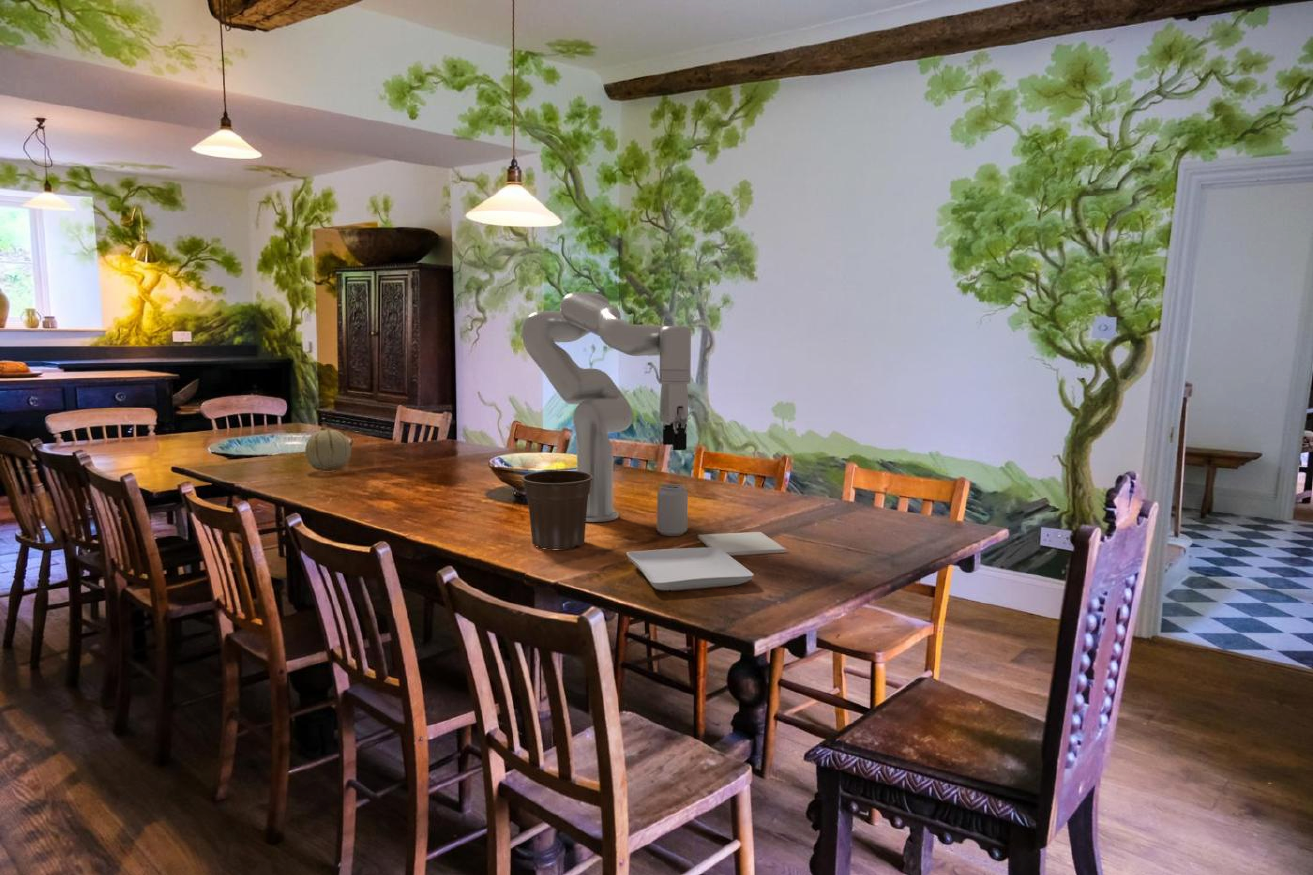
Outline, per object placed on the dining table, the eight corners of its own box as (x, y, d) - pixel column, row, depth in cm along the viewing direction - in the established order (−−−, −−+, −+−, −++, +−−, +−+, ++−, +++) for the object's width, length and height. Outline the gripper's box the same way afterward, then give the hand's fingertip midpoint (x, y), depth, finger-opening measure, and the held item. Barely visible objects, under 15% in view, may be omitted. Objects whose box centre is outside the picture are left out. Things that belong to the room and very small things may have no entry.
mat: (718, 556, 181) (719, 552, 181) (698, 538, 196) (698, 534, 196) (785, 552, 185) (785, 548, 185) (760, 534, 200) (760, 531, 200)
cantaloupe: (330, 477, 268) (328, 432, 266) (296, 473, 273) (294, 429, 271) (361, 470, 282) (360, 427, 280) (328, 466, 287) (326, 424, 285)
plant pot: (526, 555, 179) (525, 483, 177) (518, 537, 195) (518, 471, 193) (598, 551, 184) (599, 481, 182) (585, 533, 199) (585, 469, 197)
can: (687, 529, 204) (688, 483, 203) (686, 537, 197) (687, 488, 195) (658, 528, 205) (659, 482, 204) (655, 536, 198) (656, 487, 196)
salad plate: (756, 590, 159) (756, 573, 159) (652, 599, 153) (652, 581, 152) (717, 560, 179) (718, 545, 179) (624, 567, 173) (624, 551, 173)
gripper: (651, 375, 203) (651, 443, 205) (669, 379, 187) (668, 452, 189) (680, 375, 205) (679, 442, 207) (700, 379, 188) (699, 451, 191)
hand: (674, 447), depth 198 cm, fingers open, 9 cm apart
